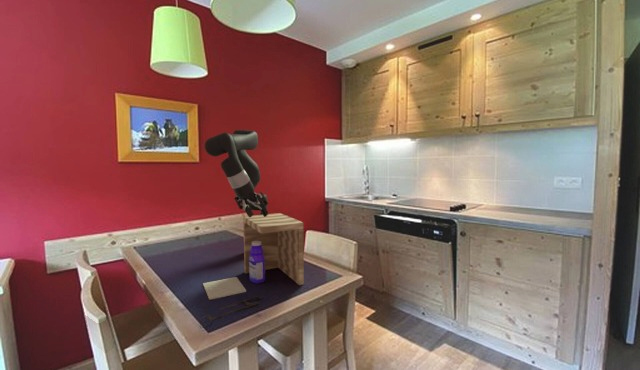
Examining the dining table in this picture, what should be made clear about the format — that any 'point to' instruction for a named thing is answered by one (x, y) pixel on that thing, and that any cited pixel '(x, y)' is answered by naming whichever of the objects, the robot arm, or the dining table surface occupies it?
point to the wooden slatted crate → (276, 243)
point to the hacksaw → (236, 309)
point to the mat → (223, 288)
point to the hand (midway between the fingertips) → (258, 215)
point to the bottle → (257, 263)
